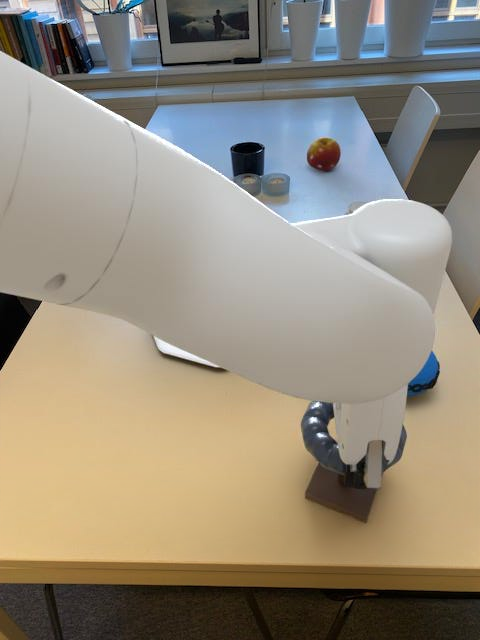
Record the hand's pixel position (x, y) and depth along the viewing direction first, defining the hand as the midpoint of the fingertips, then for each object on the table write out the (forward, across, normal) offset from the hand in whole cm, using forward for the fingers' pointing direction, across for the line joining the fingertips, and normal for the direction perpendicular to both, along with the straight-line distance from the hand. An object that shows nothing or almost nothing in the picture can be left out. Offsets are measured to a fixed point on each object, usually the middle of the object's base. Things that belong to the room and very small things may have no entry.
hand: (356, 466), depth 54 cm
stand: (+11, -4, 0) cm, 12 cm away
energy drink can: (+11, -52, +7) cm, 53 cm away
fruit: (+10, -105, +5) cm, 106 cm away
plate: (+11, -39, -18) cm, 44 cm away
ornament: (+11, -21, +11) cm, 26 cm away
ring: (-1, -4, 0) cm, 4 cm away
